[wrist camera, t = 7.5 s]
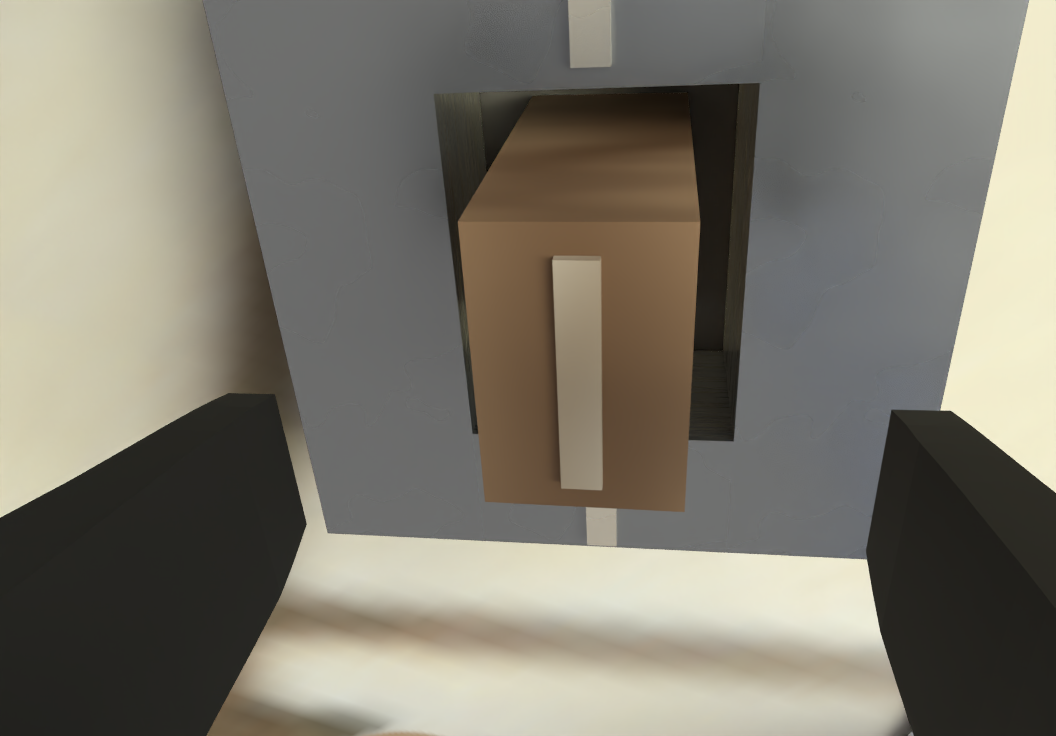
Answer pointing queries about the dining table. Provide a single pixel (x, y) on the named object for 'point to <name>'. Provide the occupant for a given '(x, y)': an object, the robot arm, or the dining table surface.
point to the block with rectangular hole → (754, 251)
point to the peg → (585, 303)
